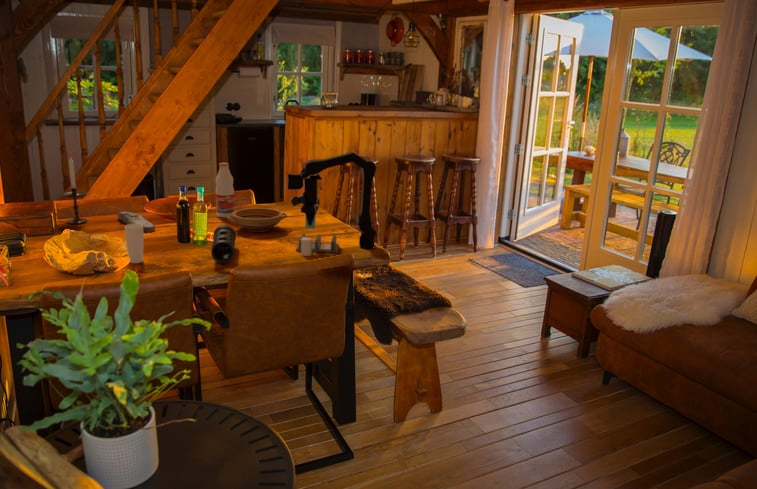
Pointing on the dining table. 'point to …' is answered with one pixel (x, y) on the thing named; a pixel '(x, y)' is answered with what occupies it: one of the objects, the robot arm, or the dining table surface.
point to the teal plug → (312, 223)
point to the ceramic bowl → (257, 218)
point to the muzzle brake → (223, 244)
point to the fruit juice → (224, 192)
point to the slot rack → (321, 245)
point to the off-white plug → (306, 246)
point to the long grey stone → (136, 220)
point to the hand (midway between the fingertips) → (310, 224)
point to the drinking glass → (134, 242)
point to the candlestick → (74, 196)
